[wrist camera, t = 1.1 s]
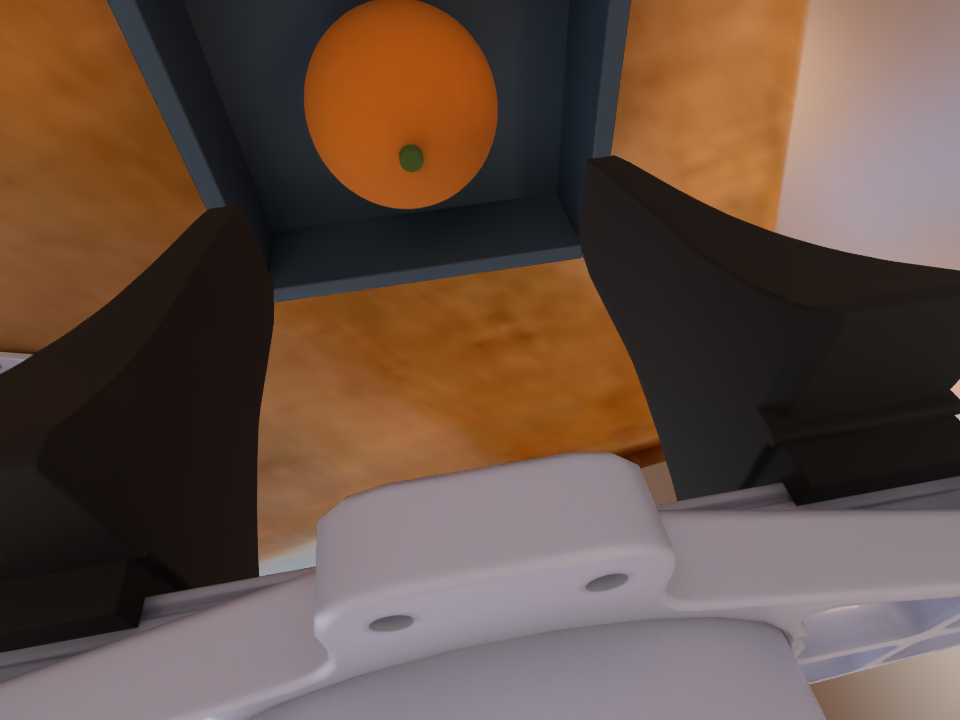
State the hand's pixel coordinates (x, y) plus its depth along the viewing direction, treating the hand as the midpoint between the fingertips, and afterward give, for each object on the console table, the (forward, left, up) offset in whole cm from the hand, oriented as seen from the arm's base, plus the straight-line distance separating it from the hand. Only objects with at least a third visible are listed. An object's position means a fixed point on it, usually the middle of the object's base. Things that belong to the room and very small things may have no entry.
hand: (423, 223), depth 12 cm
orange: (0, 0, -8) cm, 8 cm away
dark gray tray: (0, 0, -9) cm, 9 cm away
